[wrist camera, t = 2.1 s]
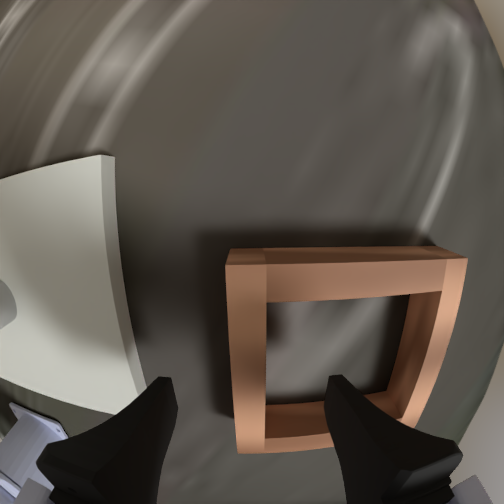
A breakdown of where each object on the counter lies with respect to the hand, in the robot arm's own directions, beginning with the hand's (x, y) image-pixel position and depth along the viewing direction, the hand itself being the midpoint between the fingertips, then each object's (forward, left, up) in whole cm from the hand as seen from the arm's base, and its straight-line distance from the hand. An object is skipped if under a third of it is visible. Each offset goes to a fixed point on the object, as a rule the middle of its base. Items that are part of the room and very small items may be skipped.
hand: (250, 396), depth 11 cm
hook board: (+3, +17, -4) cm, 18 cm away
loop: (0, -5, -4) cm, 6 cm away
